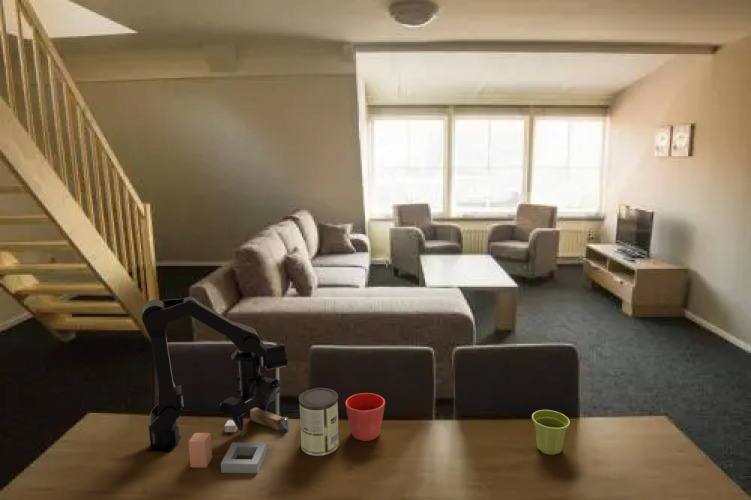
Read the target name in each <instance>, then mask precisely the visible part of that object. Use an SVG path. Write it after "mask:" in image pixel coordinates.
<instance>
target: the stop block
mask: <svg viewBox="0 0 751 500" xmlns="http://www.w3.org/2000/svg"><path fill="white" fill-rule="evenodd" d="M237 430H239V429H238V428H237V426H236V424H235V423H234V421H233V420H232V419H228V420H227V421H226V422H225V424H224V433H236V432H237Z"/></svg>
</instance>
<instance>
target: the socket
mask: <svg viewBox="0 0 751 500" xmlns="http://www.w3.org/2000/svg"><path fill="white" fill-rule="evenodd" d="M267 445H268V444H267V442H232V443H231V445H230V446H229V448H228V450H227V451H226V454H225V455H224V457H223V459H222V461H221V462H220V472H221V474H222V473H223V474H225V473H226V474H259V471H260V469H261V466H262V464H263V463H264V462H263V461H264V459H265V456H266V455H267V452H268V450H267V448H268V447H267ZM238 456H249V457H251V456H252V458H251V459H250V458H249V459H244V458H243V459H242V458H241V459H239V458H237V457H238Z"/></svg>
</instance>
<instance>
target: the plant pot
mask: <svg viewBox="0 0 751 500" xmlns="http://www.w3.org/2000/svg"><path fill="white" fill-rule="evenodd" d="M531 419H532V421H533V425H534V430H535V438H536V439H535V441H536V448H537V449H538V450H539V451H540V452H542V454H546V455H549V456H550V455H551V456H554V455H556V454H561V453H562V449H563V444H564V440H565V439H564V438H565V436H566V431H567V429H568V428H569V426H570V423H571V422H570V419H569V417H568V416H566V415H565V414H563V413H561V412H558V411H555V410H551V409H540V410H535V412H533V413H532V414H531Z"/></svg>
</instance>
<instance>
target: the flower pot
mask: <svg viewBox="0 0 751 500" xmlns="http://www.w3.org/2000/svg"><path fill="white" fill-rule="evenodd" d="M344 405H345V409H346V414H347V418H348V423H349V428H350V431H351V435H352V437H353V438H354V439H356V440H359V441H364V442H365V441H367V442H368V441H373V440H375V439H377V438H378V437H379V435H380V432H381V428H382V422H383V418H384V411H385V405H386V400H385V398H383V397H382V396H381V395H379V394H376V393H372V392H365V393H364V392H363V393H362V392H361V393H355V394H353V395H351V396H349V397H348V398H347V399H346V400H345V404H344Z"/></svg>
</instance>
